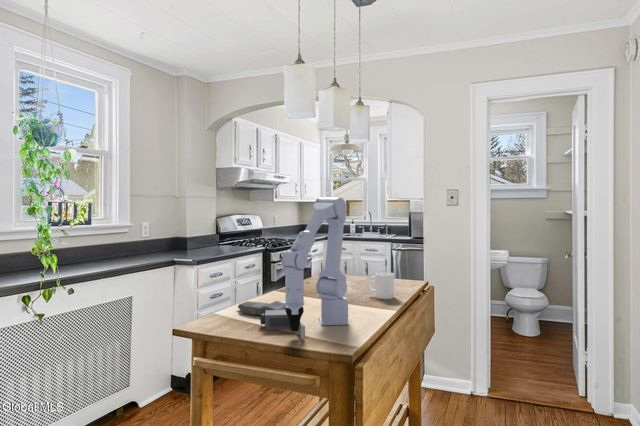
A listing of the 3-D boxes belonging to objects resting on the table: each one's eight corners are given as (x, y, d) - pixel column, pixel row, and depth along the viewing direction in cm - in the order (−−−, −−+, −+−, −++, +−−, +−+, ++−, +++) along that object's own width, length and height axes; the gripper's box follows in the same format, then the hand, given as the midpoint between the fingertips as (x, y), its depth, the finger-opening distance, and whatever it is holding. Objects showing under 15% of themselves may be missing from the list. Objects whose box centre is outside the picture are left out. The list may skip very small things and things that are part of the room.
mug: (364, 297, 189) (364, 274, 188) (370, 293, 196) (370, 270, 196) (391, 300, 184) (391, 276, 183) (396, 296, 191) (396, 272, 191)
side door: (298, 328, 145) (298, 315, 145) (302, 328, 145) (302, 315, 145) (301, 340, 134) (301, 325, 134) (305, 339, 135) (305, 325, 134)
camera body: (300, 323, 152) (300, 307, 151) (300, 329, 146) (300, 312, 145) (261, 324, 151) (261, 308, 150) (260, 330, 145) (260, 313, 144)
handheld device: (245, 307, 174) (245, 296, 173) (288, 314, 164) (288, 302, 164) (230, 313, 165) (230, 301, 165) (274, 321, 156) (274, 308, 156)
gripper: (282, 283, 143) (282, 324, 144) (281, 294, 129) (281, 339, 129) (303, 283, 144) (303, 323, 144) (305, 293, 129) (305, 338, 130)
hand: (294, 330), depth 137 cm, fingers closed
